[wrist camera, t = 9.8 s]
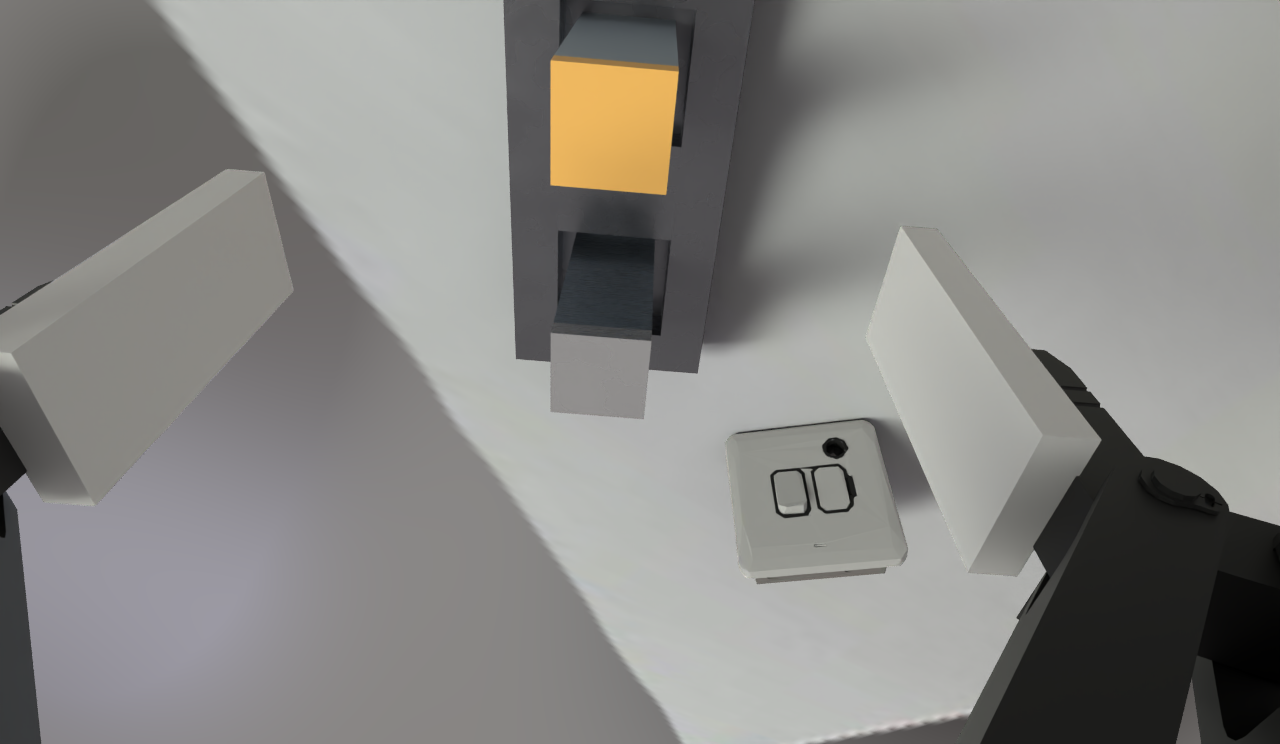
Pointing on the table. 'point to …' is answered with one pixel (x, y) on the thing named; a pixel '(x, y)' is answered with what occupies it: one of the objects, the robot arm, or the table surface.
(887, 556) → the electrical switch
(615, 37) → the plug
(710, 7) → the grey block holder
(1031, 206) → the table surface
